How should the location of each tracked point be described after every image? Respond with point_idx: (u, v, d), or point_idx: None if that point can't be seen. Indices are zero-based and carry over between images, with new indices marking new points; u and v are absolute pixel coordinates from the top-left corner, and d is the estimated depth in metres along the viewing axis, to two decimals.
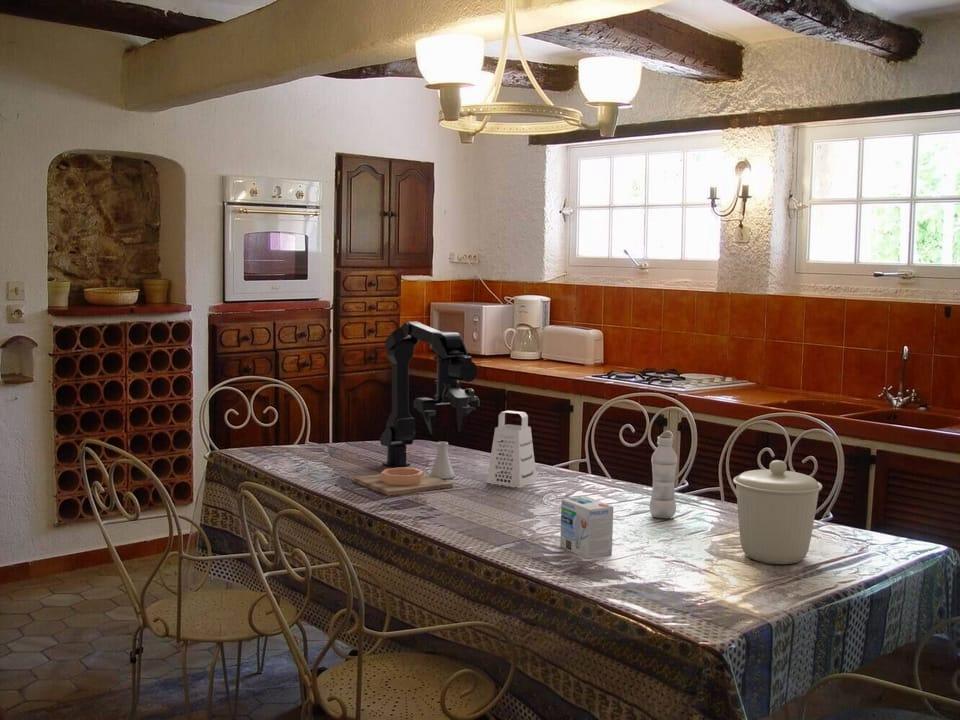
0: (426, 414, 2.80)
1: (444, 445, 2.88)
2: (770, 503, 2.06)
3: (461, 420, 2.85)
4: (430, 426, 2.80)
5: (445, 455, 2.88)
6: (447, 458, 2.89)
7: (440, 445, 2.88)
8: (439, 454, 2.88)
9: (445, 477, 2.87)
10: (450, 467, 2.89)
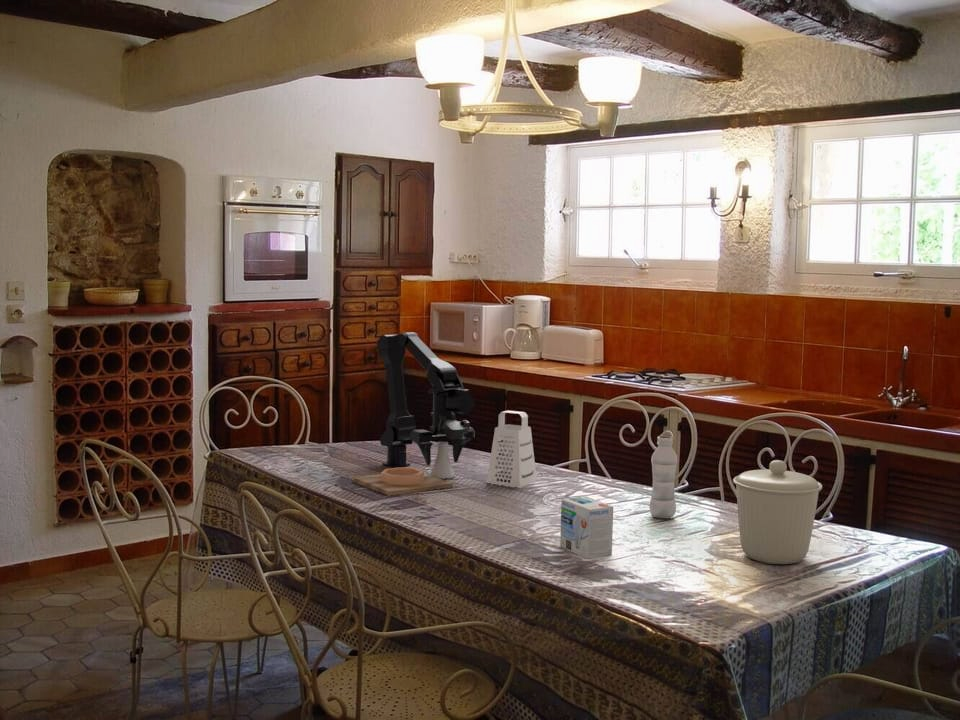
0: (423, 446, 2.87)
1: (444, 445, 2.88)
2: (770, 503, 2.06)
3: (457, 451, 2.92)
4: (426, 458, 2.86)
5: (445, 455, 2.88)
6: (447, 458, 2.89)
7: (440, 445, 2.88)
8: (439, 454, 2.88)
9: (445, 477, 2.87)
10: (450, 467, 2.89)
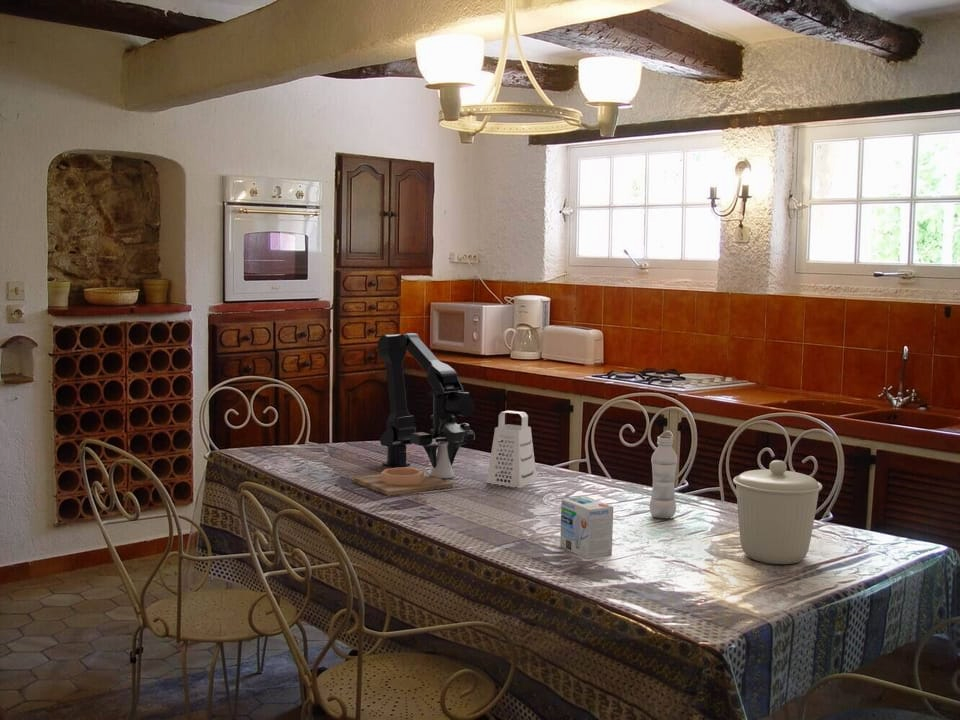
0: (428, 448, 2.88)
1: (444, 445, 2.88)
2: (770, 503, 2.06)
3: (452, 454, 2.91)
4: (432, 460, 2.87)
5: (445, 455, 2.88)
6: (447, 458, 2.89)
7: (440, 445, 2.88)
8: (439, 454, 2.88)
9: (445, 477, 2.87)
10: (450, 467, 2.89)
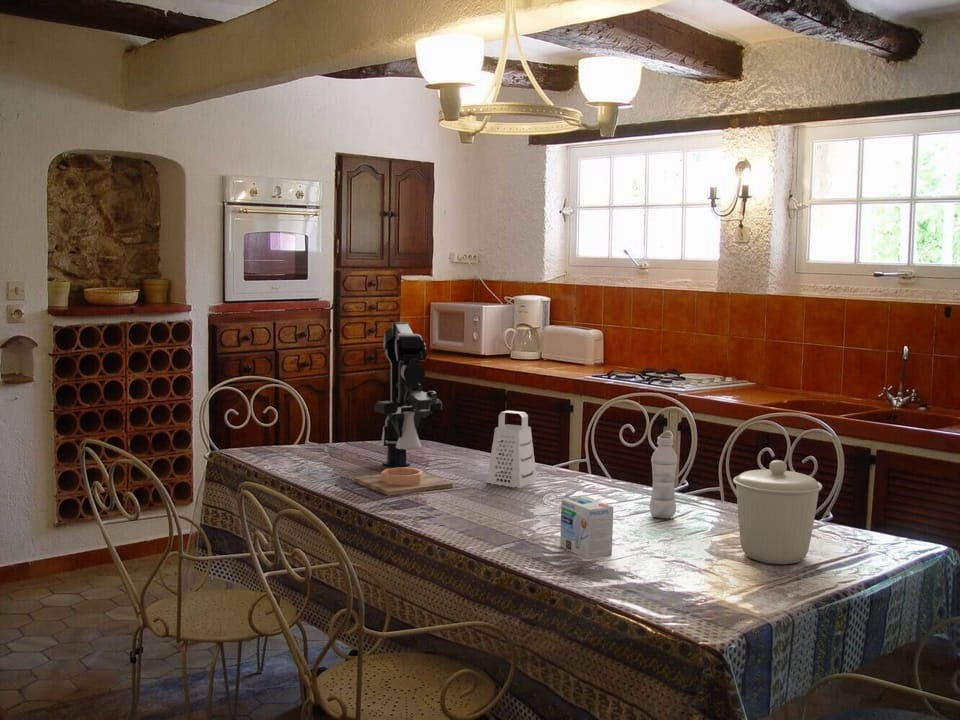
0: (394, 417, 2.77)
1: (410, 415, 2.77)
2: (770, 503, 2.06)
3: (418, 424, 2.80)
4: (398, 430, 2.76)
5: (411, 425, 2.77)
6: (414, 428, 2.78)
7: (406, 415, 2.77)
8: (405, 424, 2.77)
9: (412, 448, 2.76)
10: (417, 438, 2.78)
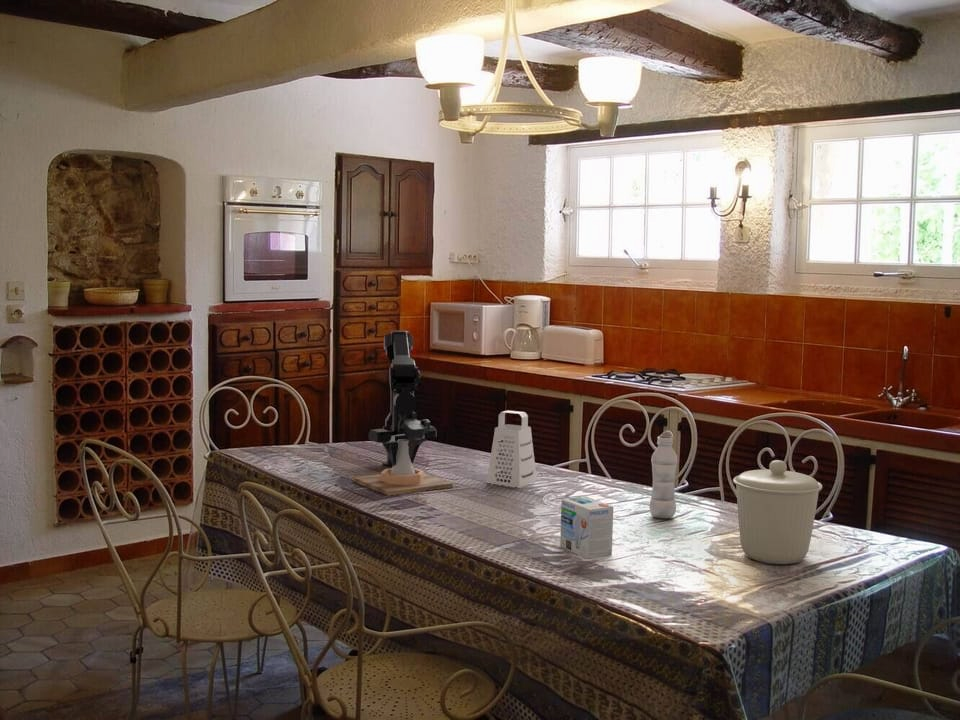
0: (388, 445, 2.77)
1: (404, 443, 2.77)
2: (770, 503, 2.06)
3: (412, 452, 2.79)
4: (392, 458, 2.76)
5: (405, 453, 2.77)
6: (408, 456, 2.77)
7: (400, 443, 2.77)
8: (399, 452, 2.77)
9: None
10: (411, 466, 2.78)
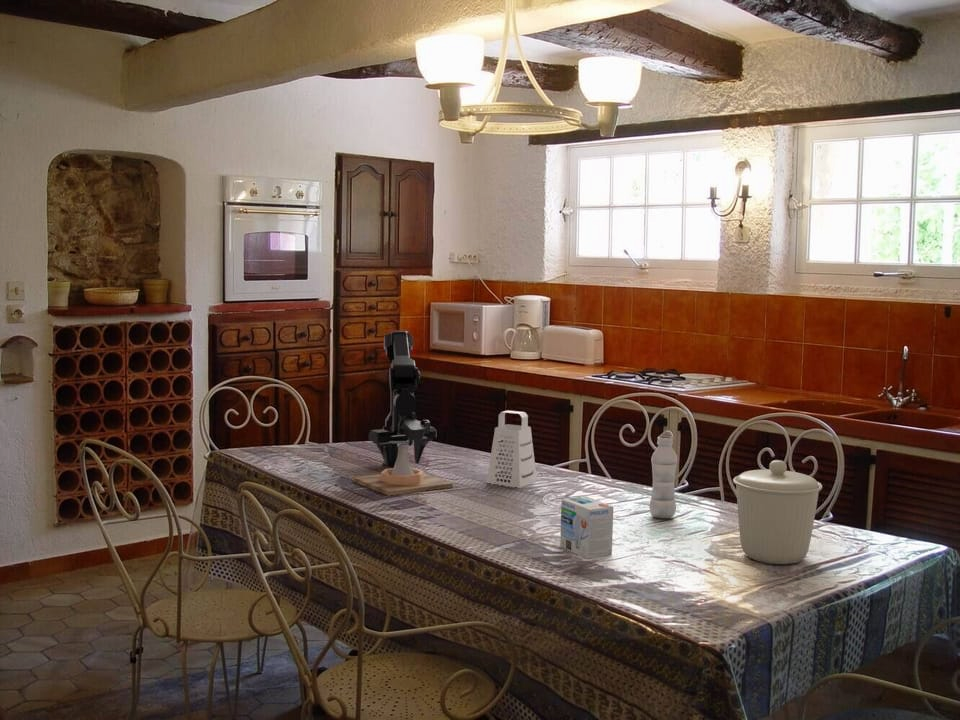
0: (382, 446, 2.75)
1: (404, 447, 2.77)
2: (770, 503, 2.06)
3: (418, 452, 2.80)
4: (386, 459, 2.75)
5: (405, 457, 2.77)
6: (408, 461, 2.78)
7: (400, 447, 2.77)
8: (399, 456, 2.77)
9: None
10: (411, 470, 2.78)
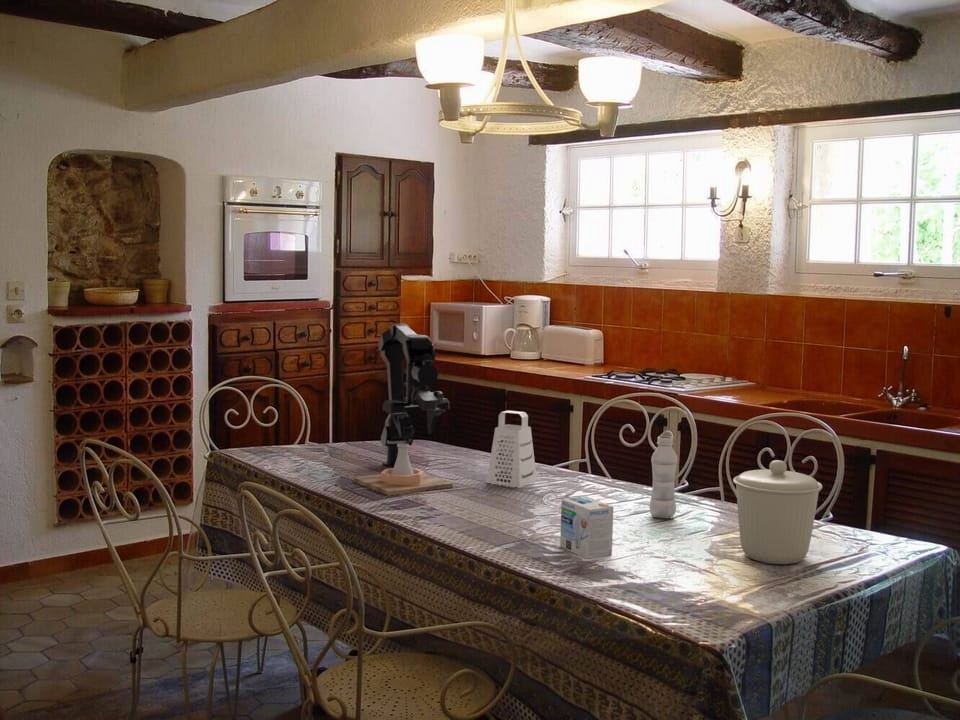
0: (395, 416, 2.83)
1: (404, 447, 2.77)
2: (770, 503, 2.06)
3: (431, 422, 2.87)
4: (399, 429, 2.82)
5: (405, 457, 2.77)
6: (408, 461, 2.78)
7: (400, 447, 2.77)
8: (399, 456, 2.77)
9: None
10: (411, 470, 2.78)
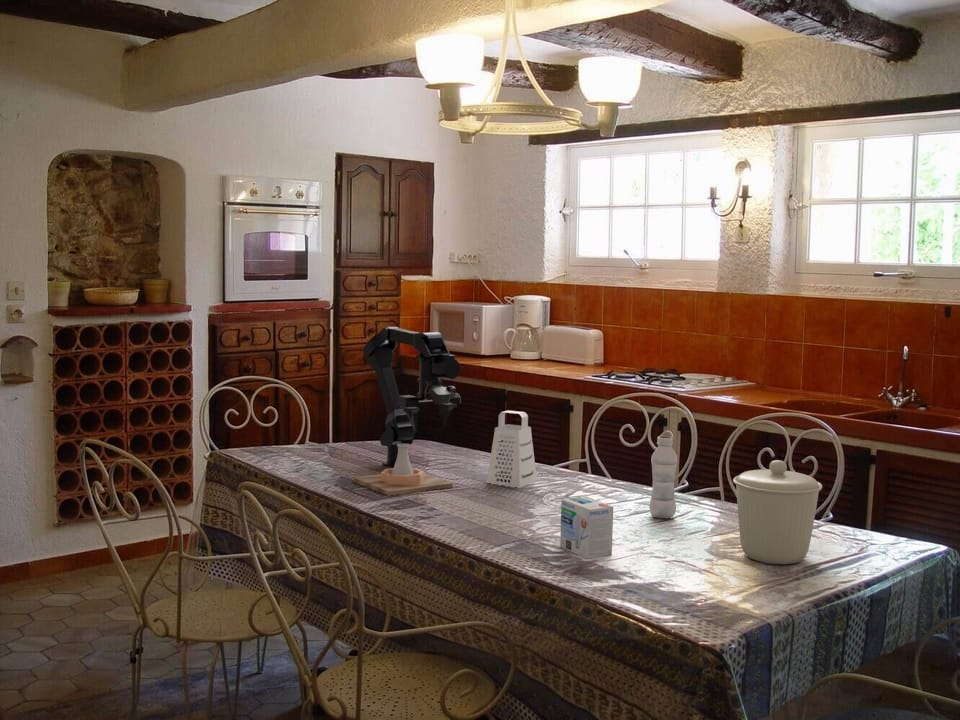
0: (409, 411, 2.90)
1: (404, 447, 2.77)
2: (770, 503, 2.06)
3: (443, 417, 2.95)
4: (413, 423, 2.90)
5: (405, 457, 2.77)
6: (408, 461, 2.78)
7: (400, 447, 2.77)
8: (399, 456, 2.77)
9: None
10: (411, 470, 2.78)
